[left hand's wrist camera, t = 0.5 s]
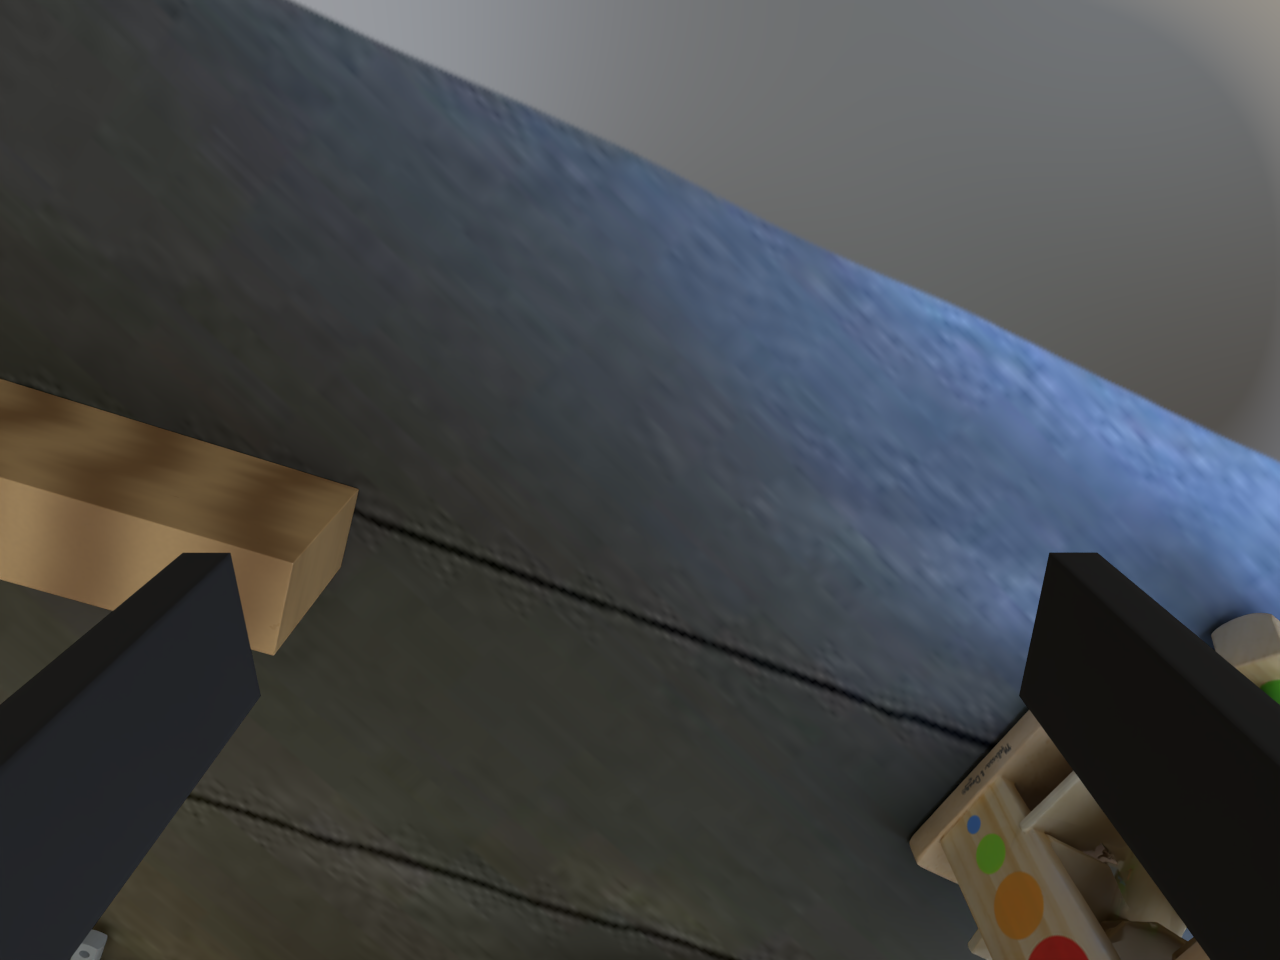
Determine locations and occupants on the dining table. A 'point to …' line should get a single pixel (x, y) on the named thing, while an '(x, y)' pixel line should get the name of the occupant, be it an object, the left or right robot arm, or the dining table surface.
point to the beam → (158, 512)
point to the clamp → (91, 947)
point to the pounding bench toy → (1064, 844)
